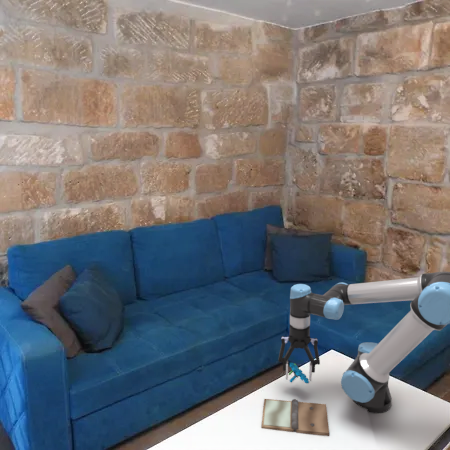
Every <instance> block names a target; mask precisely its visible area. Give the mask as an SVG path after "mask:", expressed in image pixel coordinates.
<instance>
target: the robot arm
mask: <svg viewBox="0 0 450 450" xmlns="http://www.w3.org/2000/svg"><path fill="white" fill-rule="evenodd" d="M402 301H403V302H404V301H405V302H406V301H407V302H408V301H411V302H410V305H409V306H410V311H408V313H406V315H405V316H404V317H403V318H402V319H401V320H399V322H398V323H397V324H396V325H395V326H394V327H393V328H392V329H391V330H389V332H388V333H387V334H386V335H385V336H384V338H382V340H380V342H378V343H377V342H371V341H370V342H367V341H366V342H362V343H360V344H358V349H357V356H356V357H355V359H354V360H353V361H352V363H351V364H350V365H349V366H348V368H347V369H346V370H345V371H344V372H343V373H342V376H341V378H340V384H341V389H342V390H343V392H344V393H345V395H347V397H348V398H350V399H351V400H352V402H354V403H355V404H356V405H358V406H359V407H361V408H363V409H366V411H367V412H368V413H372V414H381V413H385V412H387V411H389V410H391V407H392V403H393V402H392V401H393V399H392V398H393V397H392V395H391V392H390V388H389V380H390V372H391V371H392V370H394V368H395V367H396V366H398V364H400V363H401V361H403V360H405V358H406V357H407V356H408V355H409V354H410V353H411V352H412V351H413V350H414V349H415V348H416V347H418V345H419V344H421V343H422V342H423V341H424V340H425V339H426V338H427V337H428V336H429V335H430V334H431V333H432V332H433V331H442V330H443V329H444V328H445V327H446V326H447V325H450V271H436V272H427V273H422V274H420V275H419V277H411V278H410V277H409V278H407V277H406V278H399V279H389V280H380V281H371V282H368V281H367V282H360V283H351V284H348V283H346V282H341V281H340V282H338V283H335V285H333V286H331V288H330V289H329V290H328V291H326V292H325V293H324V294H318V293H314V292H312V288H311V287H310V286H309V285H308V284H304V283H297V284H293V286H291V287H290V293H289V305H290V306H289V335H288V336H284V335H283V336H281V345H280V350H279V355H278V358H277V360H278V363H282V371H283V372H285V380H288V381H289V377H288V376H289V358H290V357H291V355H292V353H293V351H294V350H295V349H303V350H304V351H305V353H306V356H307V357H308V359H309V372H308V373H309V375H308V376H309V378H308V379H309V380H308V381H309V382H312V380H313V378H312V375H313V373H315V371H316V365H321V360H320V354H319V349H318V338H317V337H314V338H311V334H310V333H311V331H310V329H311V315H313V316H318V317H322V318H325V319H329V320H335V321H337V320H340V319H341V318H342V315H343V313H344V309H345V306H348V305H362V304H373V303H374V304H377V303H378V304H379V303H389V302H390V303H392V302H402ZM288 341H289V344H290V346H289V348H288V350H287V351H286V353H285V355H284V352H285V347H286V344H287V343H288ZM310 343H311V345H312V346H313V351H314V355H315V356H313V354H312V352H311V350H310V347H309V344H310ZM283 355H284V357H283ZM314 357H315V359H314Z"/></svg>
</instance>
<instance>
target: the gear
mask: <svg viewBox="0 0 450 450" xmlns="http://www.w3.org/2000/svg"><path fill="white" fill-rule="evenodd" d="M288 367H289V368H290V369H291V371H289V372H288V376H290V375H292V374H293V376H292V377H291V378H290V379H289V383H293V382H294V381H295V380H296V379H297V378H299V379H300V381H303V382H304V383H305V384H309V383H310V381H309V378H308V377H307V375H306V374H305V373H304V372H303V370H301V369H300V368H299V367H298V365H297V364H296V363H295V362H291V361H290V362H288Z"/></svg>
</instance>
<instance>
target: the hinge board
mask: <svg viewBox="0 0 450 450" xmlns="http://www.w3.org/2000/svg"><path fill="white" fill-rule="evenodd" d="M262 407H263V408H262V417H261V419H262V420H261V429H264V430H272V431H274V430H275V431H281V432H287V433H288V432H289V433H297V434H306V435H313V436H314V435H317V436H324V437H325V436H326V437H330V428H329V419H328V410H327V403H316V402H305V401H298V399H295V398H293V399H292V400H283V399H282V400H281V399H270V398H263V406H262Z"/></svg>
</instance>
